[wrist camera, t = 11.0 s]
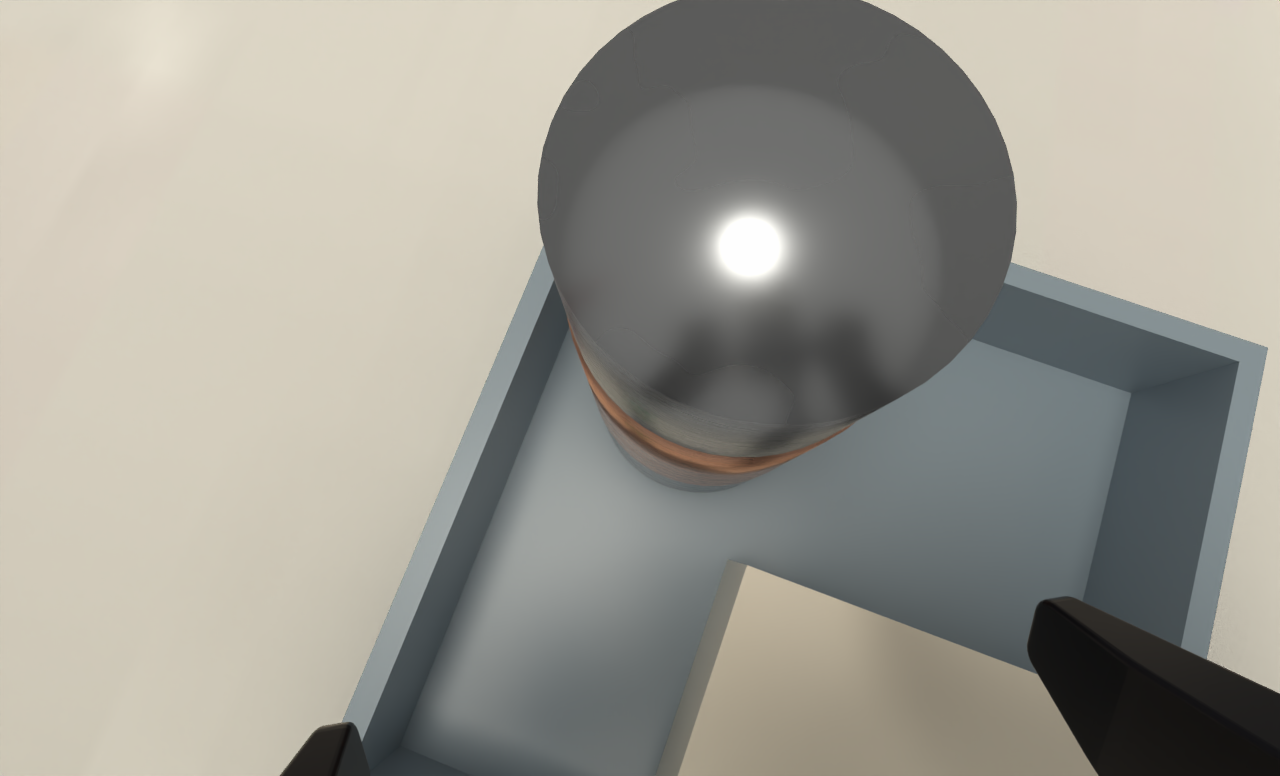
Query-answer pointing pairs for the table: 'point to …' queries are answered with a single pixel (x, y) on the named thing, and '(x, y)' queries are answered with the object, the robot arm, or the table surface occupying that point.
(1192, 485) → the tote
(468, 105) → the table surface
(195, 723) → the table surface
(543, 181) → the tin
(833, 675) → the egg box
